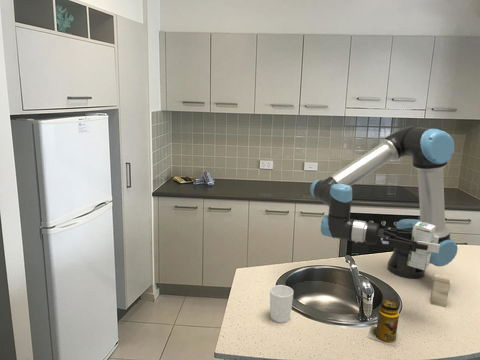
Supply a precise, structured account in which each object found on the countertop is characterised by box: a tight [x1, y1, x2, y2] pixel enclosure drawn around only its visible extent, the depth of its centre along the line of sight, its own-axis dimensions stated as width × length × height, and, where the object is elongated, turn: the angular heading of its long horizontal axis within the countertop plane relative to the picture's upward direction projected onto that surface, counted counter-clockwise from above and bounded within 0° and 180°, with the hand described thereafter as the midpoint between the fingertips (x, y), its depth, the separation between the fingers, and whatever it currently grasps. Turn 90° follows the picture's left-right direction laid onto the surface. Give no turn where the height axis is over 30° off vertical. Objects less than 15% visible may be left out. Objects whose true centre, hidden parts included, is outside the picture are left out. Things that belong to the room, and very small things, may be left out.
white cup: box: [269, 284, 294, 324], centre depth 133 cm, size 8×8×10 cm
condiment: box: [367, 299, 400, 347], centre depth 125 cm, size 7×8×12 cm
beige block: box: [429, 273, 451, 308], centre depth 146 cm, size 5×5×10 cm
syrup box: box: [407, 222, 436, 271], centre depth 131 cm, size 6×6×14 cm
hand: (438, 244), depth 128 cm, fingers closed on syrup box, 7 cm apart
